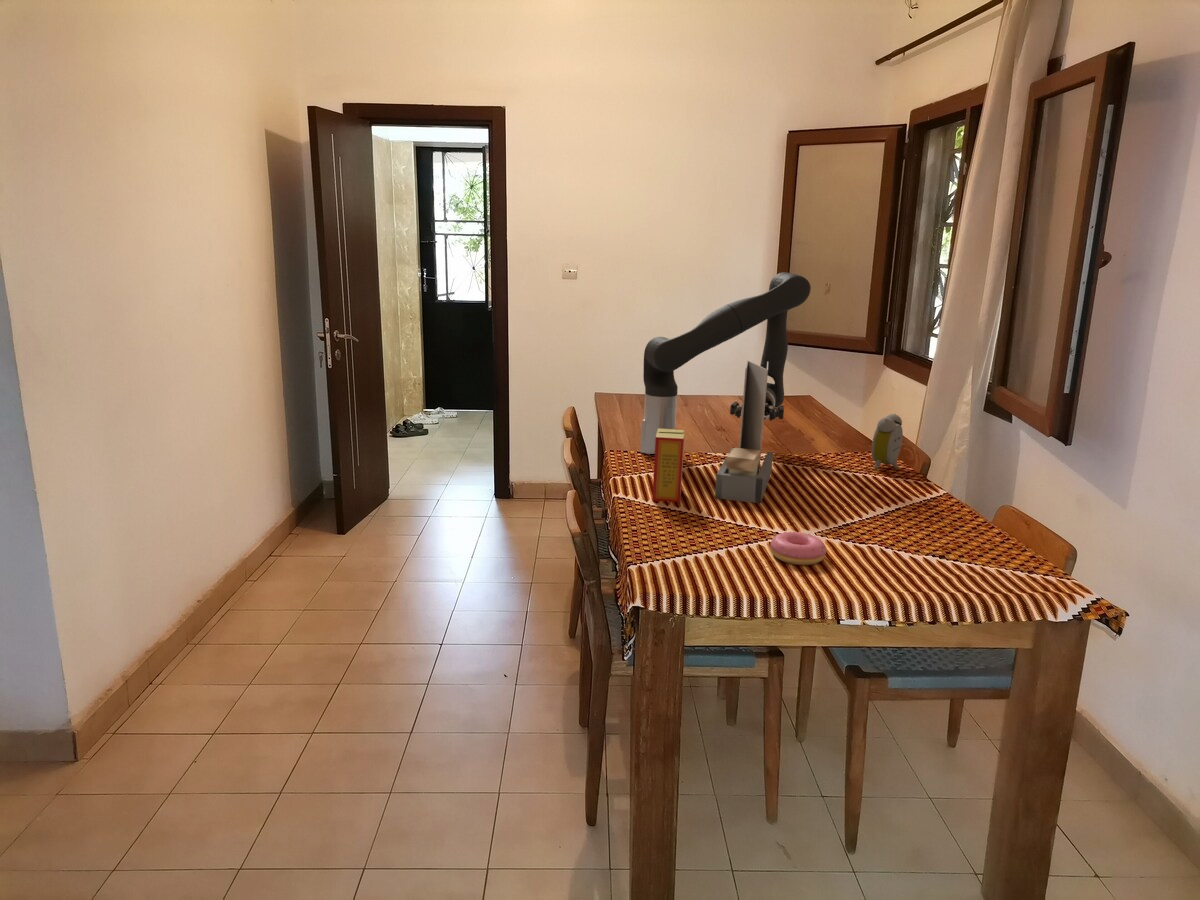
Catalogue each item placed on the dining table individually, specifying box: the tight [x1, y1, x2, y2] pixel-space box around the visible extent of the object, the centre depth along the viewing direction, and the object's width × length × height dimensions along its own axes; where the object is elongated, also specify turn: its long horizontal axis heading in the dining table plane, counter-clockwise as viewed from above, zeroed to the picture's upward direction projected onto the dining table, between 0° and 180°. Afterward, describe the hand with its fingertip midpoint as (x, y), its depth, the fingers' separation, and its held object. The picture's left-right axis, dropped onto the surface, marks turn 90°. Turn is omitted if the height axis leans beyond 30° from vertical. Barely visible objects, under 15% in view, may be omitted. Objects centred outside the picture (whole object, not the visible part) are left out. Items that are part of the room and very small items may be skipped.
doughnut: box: [769, 531, 827, 566], centre depth 163 cm, size 11×11×4 cm
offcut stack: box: [726, 447, 761, 477], centre depth 202 cm, size 7×10×10 cm
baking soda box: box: [651, 428, 686, 503], centre depth 197 cm, size 10×6×16 cm
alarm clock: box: [870, 413, 904, 471], centre depth 228 cm, size 12×7×15 cm, turn 145°
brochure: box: [738, 360, 769, 475], centre depth 213 cm, size 14×6×30 cm, turn 168°
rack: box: [714, 447, 774, 504], centre depth 209 cm, size 11×27×6 cm, turn 163°
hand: (754, 415), depth 216 cm, fingers open, 8 cm apart
